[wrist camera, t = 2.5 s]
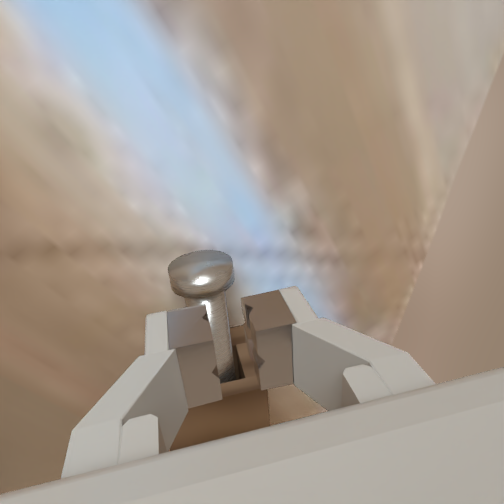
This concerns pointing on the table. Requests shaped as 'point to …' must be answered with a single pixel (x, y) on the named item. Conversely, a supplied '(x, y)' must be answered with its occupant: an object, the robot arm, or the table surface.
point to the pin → (208, 297)
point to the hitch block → (228, 404)
